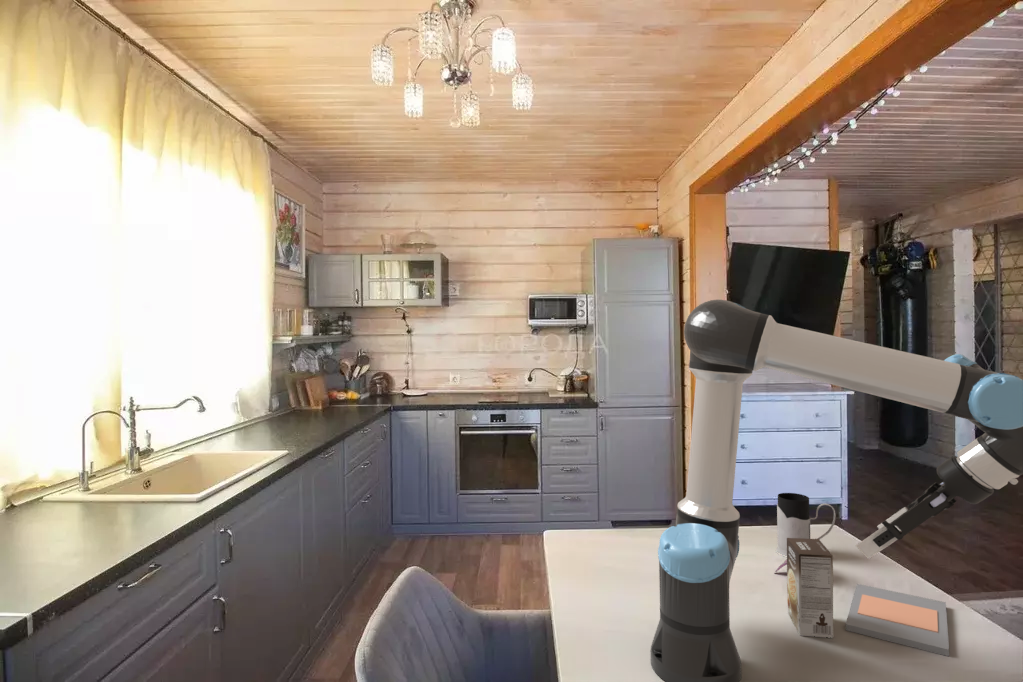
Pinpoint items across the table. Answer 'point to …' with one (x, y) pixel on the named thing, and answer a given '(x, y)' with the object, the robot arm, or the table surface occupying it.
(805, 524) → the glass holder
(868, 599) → the slate plate
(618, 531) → the table surface
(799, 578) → the coffee box
